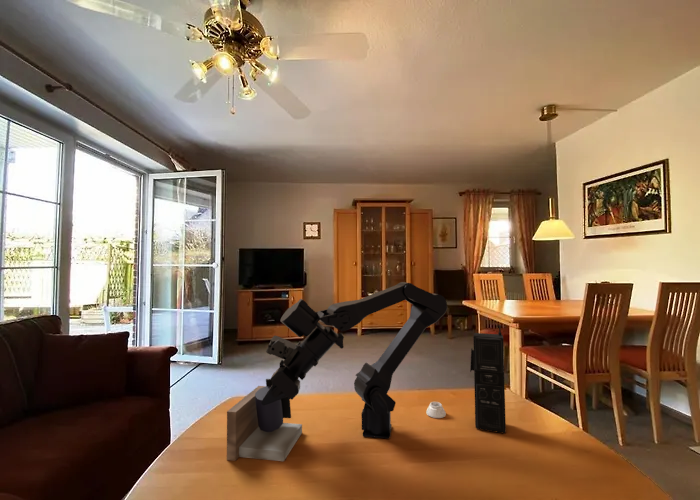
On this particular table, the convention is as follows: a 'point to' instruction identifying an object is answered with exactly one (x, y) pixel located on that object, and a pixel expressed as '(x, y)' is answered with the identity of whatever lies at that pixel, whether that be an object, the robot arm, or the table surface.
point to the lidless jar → (436, 410)
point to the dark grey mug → (271, 410)
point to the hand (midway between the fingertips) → (265, 398)
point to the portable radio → (489, 381)
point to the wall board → (257, 434)
